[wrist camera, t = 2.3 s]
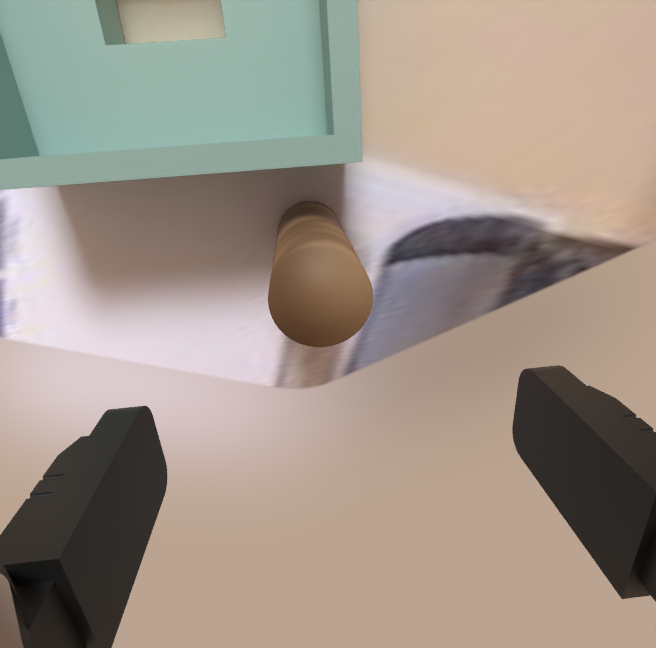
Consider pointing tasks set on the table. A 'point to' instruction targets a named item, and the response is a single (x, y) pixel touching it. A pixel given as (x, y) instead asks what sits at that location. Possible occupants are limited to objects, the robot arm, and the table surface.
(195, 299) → the table surface
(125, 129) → the bore box
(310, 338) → the walnut peg
